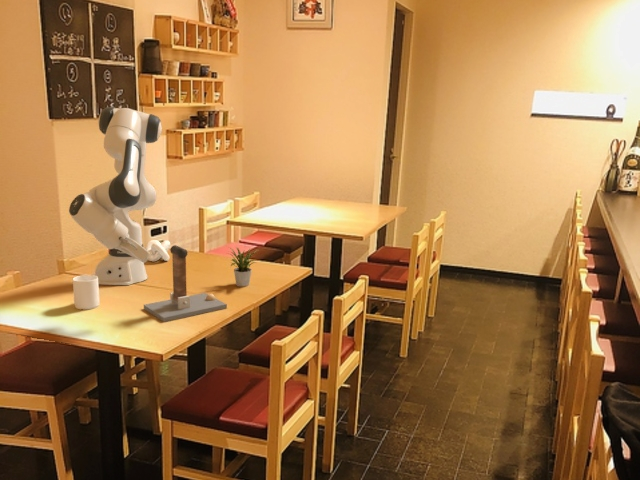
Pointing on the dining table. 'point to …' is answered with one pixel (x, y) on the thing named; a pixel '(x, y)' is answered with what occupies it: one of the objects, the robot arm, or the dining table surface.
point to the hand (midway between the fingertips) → (144, 260)
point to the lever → (179, 271)
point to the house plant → (242, 268)
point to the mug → (86, 292)
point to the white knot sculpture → (157, 250)
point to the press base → (184, 306)
